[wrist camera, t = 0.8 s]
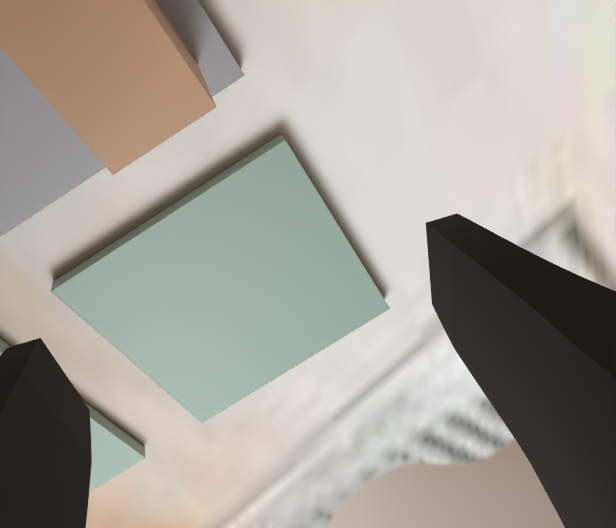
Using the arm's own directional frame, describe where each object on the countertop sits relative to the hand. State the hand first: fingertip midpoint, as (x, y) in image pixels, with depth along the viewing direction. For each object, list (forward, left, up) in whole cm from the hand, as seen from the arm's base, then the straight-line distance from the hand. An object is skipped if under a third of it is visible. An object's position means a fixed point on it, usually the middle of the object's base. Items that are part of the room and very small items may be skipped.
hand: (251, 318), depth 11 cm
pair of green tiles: (-9, -6, -10) cm, 14 cm away
